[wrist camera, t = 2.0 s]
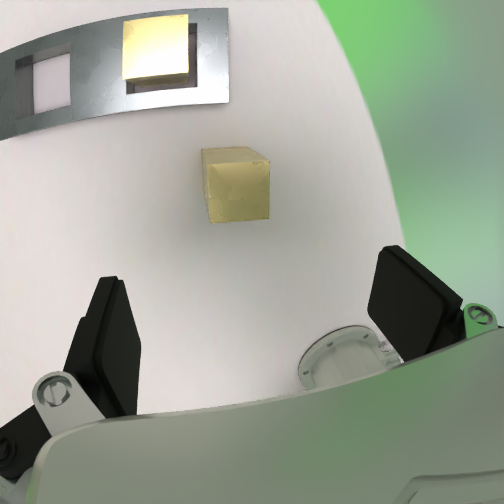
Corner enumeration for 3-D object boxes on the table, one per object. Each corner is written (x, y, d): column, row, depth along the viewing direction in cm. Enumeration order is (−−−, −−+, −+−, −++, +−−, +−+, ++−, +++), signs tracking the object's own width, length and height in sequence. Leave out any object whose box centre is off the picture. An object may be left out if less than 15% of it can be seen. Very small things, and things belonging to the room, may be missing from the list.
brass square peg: (247, 146, 26) (269, 161, 19) (247, 189, 28) (268, 218, 21) (201, 148, 26) (207, 164, 19) (204, 192, 28) (210, 223, 21)
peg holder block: (223, 19, 21) (237, -13, 14) (223, 103, 24) (238, 100, 17) (14, 58, 17) (-33, 51, 10) (16, 136, 21) (-32, 150, 14)
